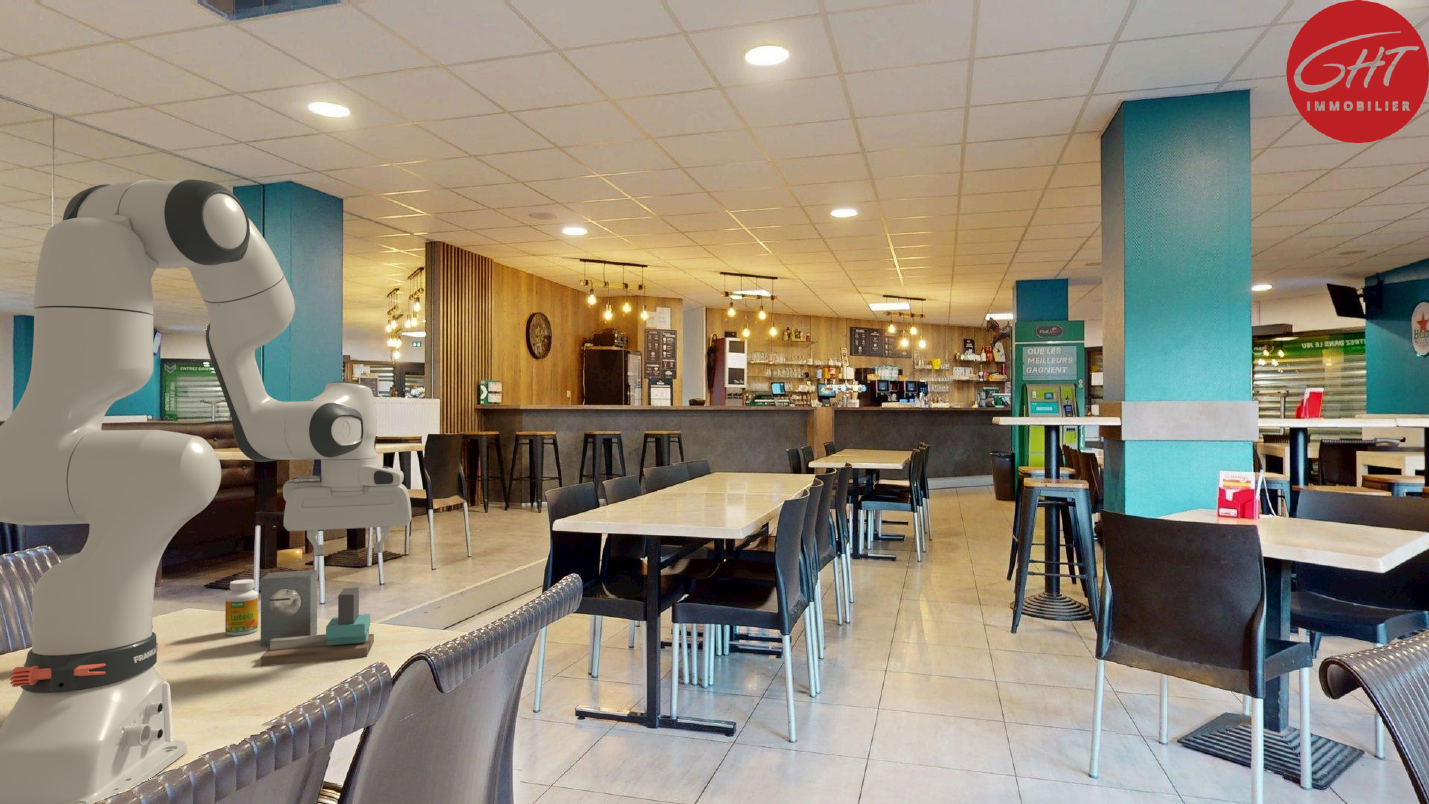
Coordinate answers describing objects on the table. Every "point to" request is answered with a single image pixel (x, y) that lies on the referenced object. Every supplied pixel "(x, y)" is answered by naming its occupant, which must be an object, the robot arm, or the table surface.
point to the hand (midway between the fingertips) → (349, 554)
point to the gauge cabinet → (288, 605)
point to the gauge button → (289, 556)
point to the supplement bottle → (241, 608)
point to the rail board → (312, 650)
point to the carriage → (348, 620)
